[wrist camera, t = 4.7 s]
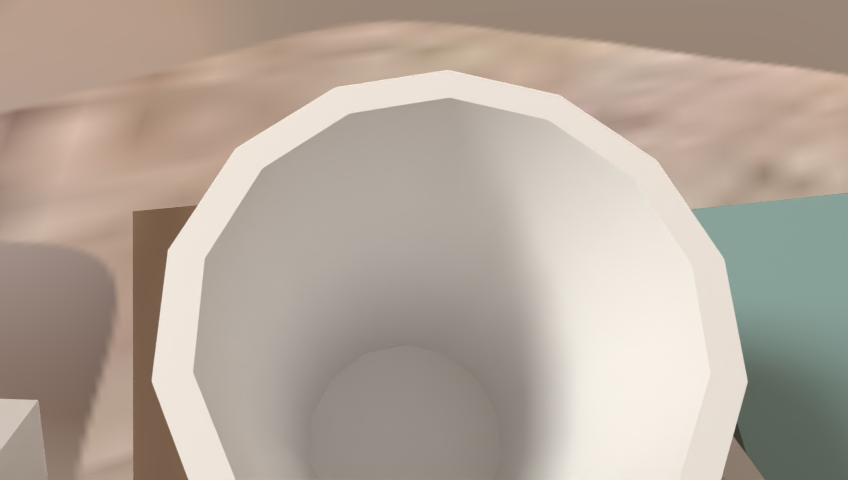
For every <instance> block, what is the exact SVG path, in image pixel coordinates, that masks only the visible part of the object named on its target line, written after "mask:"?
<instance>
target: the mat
mask: <svg viewBox="0 0 848 480" xmlns="http://www.w3.org/2000/svg"><path fill="white" fill-rule="evenodd" d="M690 210H691V211H692V213H693V214H694V215H695V217H696V218H697V220H698V221H699V223H700V224H701V226H702V227H703V229H704V230H705V232H706V233H707V234H708V236H709V237H710V239H711V240H712V242H713V243H714V245H715V246H716V248H717V249H718V250H719V252H720V253H721V255H722V256H723V258H724V260H725V265H726V270H727V276H728V281H729V286H730V291H731V296H732V302H733V307H734V312H735V317H736V322H737V328H738V333H739V338H740V343H741V349H742V354H743V359H744V364H745V369H746V375H747V380H748V383H747V387H746V390H745V394H744V398H743V401H742V405H741V409H740V412H739V416H738V420H737V423H736V427H735V431H734V434H733V437H734V438H735V439H736V441H737V442H738V443H739V445H740V446H741V448H742V449H743V450H744V452H745V453H746V454H747V456H748V457H749V459H750V460H751V461H752V463H753V464H754V465H755V467H756V468H757V470H758V471H759V472H760V474H761V475H762V476H763V478H764V479H765V480H848V193H843V194H834V195H824V196H815V197H805V198H795V199H786V200H776V201H767V202H757V203H748V204H738V205H728V206H719V207H709V208H700V209H690Z"/></svg>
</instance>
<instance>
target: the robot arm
mask: <svg viewBox="0 0 848 480" xmlns="http://www.w3.org/2000/svg"><path fill="white" fill-rule="evenodd" d="M0 480H48V476H47V469H46V460H45V452H44V444H43V435H42V427H41V419H40V411H39V403H38V400H17V399H16V400H15V399H0ZM721 480H765V479H764V478H763V476H762V475H761V474H760V472H759V471H758V470H757V468H756V467H755V465H754V464H753V463H752V461H751V460H750V459H749V457H748V456H747V454H746V453H745V452H744V450H743V449H742V448H741V446H740V445H739V443H738V442H737V441H736V439H735V438H734V437H733V438H732V442H731V445H730V449H729V452H728V456H727V460H726V463H725V467H724V471H723V474H722V478H721Z"/></svg>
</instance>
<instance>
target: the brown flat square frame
mask: <svg viewBox="0 0 848 480" xmlns="http://www.w3.org/2000/svg"><path fill="white" fill-rule="evenodd" d="M197 206H198V205H197ZM197 206H186V207H175V208H165V209H154V210H144V211H133V471H134V480H188V478H187V475H186V472H185V470H184V467H183V464H182V461H181V459H180V456H179V453H178V451H177V448H176V445H175V443H174V440H173V437H172V435H171V432H170V429H169V427H168V424H167V421H166V419H165V416H164V413H163V411H162V408H161V405H160V403H159V400H158V397H157V395H156V392H155V389H154V387H153V384H152V373H153V365H154V357H155V349H156V341H157V333H158V325H159V317H160V309H161V301H162V293H163V285H164V277H165V269H166V261H167V253H168V249H169V248H170V246H171V245H172V243H173V242H174V240H175V239H176V237H177V236H178V234H179V233H180V231H181V230H182V228H183V227H184V225H185V224H186V222H187V221H188V219H189V218H190V216H191V215H192V213H193V212H194V210H195V209H196V207H197Z"/></svg>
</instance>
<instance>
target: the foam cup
mask: <svg viewBox="0 0 848 480" xmlns="http://www.w3.org/2000/svg"><path fill="white" fill-rule="evenodd" d="M747 383H748V380H747V375H746V369H745V364H744V359H743V354H742V349H741V343H740V338H739V333H738V328H737V322H736V317H735V312H734V307H733V302H732V296H731V291H730V286H729V281H728V276H727V270H726V265H725V260H724V258H723V256H722V255H721V253H720V252H719V250H718V249H717V248H716V246H715V245H714V243H713V242H712V240H711V239H710V237H709V236H708V234H707V233H706V232H705V230H704V229H703V227H702V226H701V224H700V223H699V221H698V220H697V218H696V217H695V215H694V214H693V213H692V211H691V210H690V208H689V207H688V205H687V204H686V202H685V201H684V199H683V198H682V196H681V195H680V194H679V192H678V191H677V189H676V188H675V186H674V185H673V183H672V182H671V180H670V179H669V178H668V176H667V175H666V173H665V172H664V170H663V169H662V167H661V166H660V164H659V163H658V161H657V160H656V159H654V158H653V157H651V156H650V155H648V154H647V153H645V152H644V151H642V150H641V149H639V148H638V147H636V146H635V145H633V144H632V143H630V142H629V141H627V140H626V139H624V138H623V137H621V136H620V135H618V134H617V133H615V132H614V131H612V130H611V129H609V128H608V127H606V126H605V125H603V124H602V123H600V122H599V121H598V120H596V119H595V118H593V117H592V116H590V115H589V114H587V113H586V112H584V111H583V110H581V109H580V108H578V107H577V106H575V105H574V104H572V103H571V102H569V101H568V100H566V99H565V98H563V97H562V96H560V95H557V94H552V93H548V92H543V91H539V90H535V89H530V88H526V87H521V86H517V85H513V84H508V83H504V82H499V81H495V80H490V79H486V78H482V77H477V76H473V75H468V74H464V73H459V72H455V71H451V70H444V71H438V72H431V73H425V74H418V75H412V76H405V77H399V78H392V79H386V80H379V81H373V82H366V83H360V84H353V85H347V86H340V87H335V88H333V89H332V90H330V91H328V92H327V93H325V94H323V95H322V96H320V97H319V98H317V99H315V100H314V101H312V102H310V103H309V104H307V105H305V106H304V107H302V108H301V109H299V110H297V111H296V112H294V113H292V114H291V115H289V116H288V117H286V118H284V119H283V120H281V121H279V122H278V123H276V124H275V125H273V126H271V127H270V128H268V129H266V130H265V131H263V132H262V133H260V134H258V135H257V136H255V137H253V138H252V139H250V140H248V141H247V142H245V143H244V144H242V145H240V146H239V147H237V148H236V149H235V150H234V152H233V153H232V155H231V156H230V158H229V159H228V161H227V162H226V164H225V165H224V167H223V168H222V170H221V171H220V173H219V174H218V176H217V177H216V179H215V180H214V182H213V183H212V185H211V186H210V188H209V189H208V191H207V192H206V194H205V195H204V197H203V198H202V200H201V201H200V203H199V204H198V206H197V207H196V209H195V210H194V212H193V213H192V215H191V216H190V218H189V219H188V221H187V222H186V224H185V225H184V227H183V228H182V230H181V231H180V233H179V234H178V236H177V237H176V239H175V240H174V242H173V243H172V245H171V246H170V248H169V249H168V253H167V261H166V269H165V277H164V285H163V293H162V301H161V309H160V317H159V325H158V333H157V341H156V349H155V357H154V365H153V373H152V384H153V387H154V389H155V392H156V395H157V397H158V400H159V403H160V405H161V408H162V411H163V413H164V416H165V419H166V421H167V424H168V427H169V429H170V432H171V435H172V437H173V440H174V443H175V445H176V448H177V451H178V453H179V456H180V459H181V461H182V464H183V467H184V470H185V472H186V475H187V478H188V480H721V478H722V474H723V471H724V467H725V463H726V460H727V456H728V452H729V449H730V445H731V442H732V438H733V434H734V431H735V427H736V423H737V420H738V416H739V412H740V409H741V405H742V401H743V398H744V394H745V390H746V387H747Z"/></svg>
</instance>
